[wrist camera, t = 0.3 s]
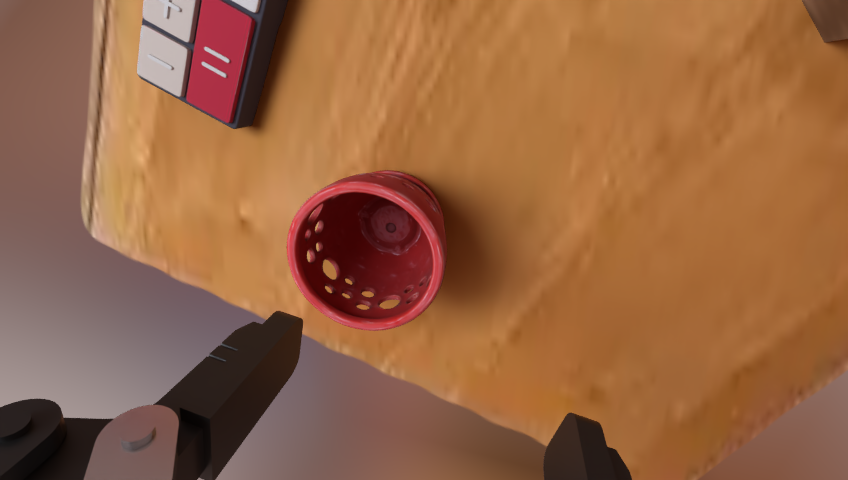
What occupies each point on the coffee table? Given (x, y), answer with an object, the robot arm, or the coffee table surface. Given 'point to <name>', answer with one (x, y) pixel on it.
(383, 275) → the plant pot
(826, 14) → the walnut block
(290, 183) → the coffee table surface
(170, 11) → the calculator
